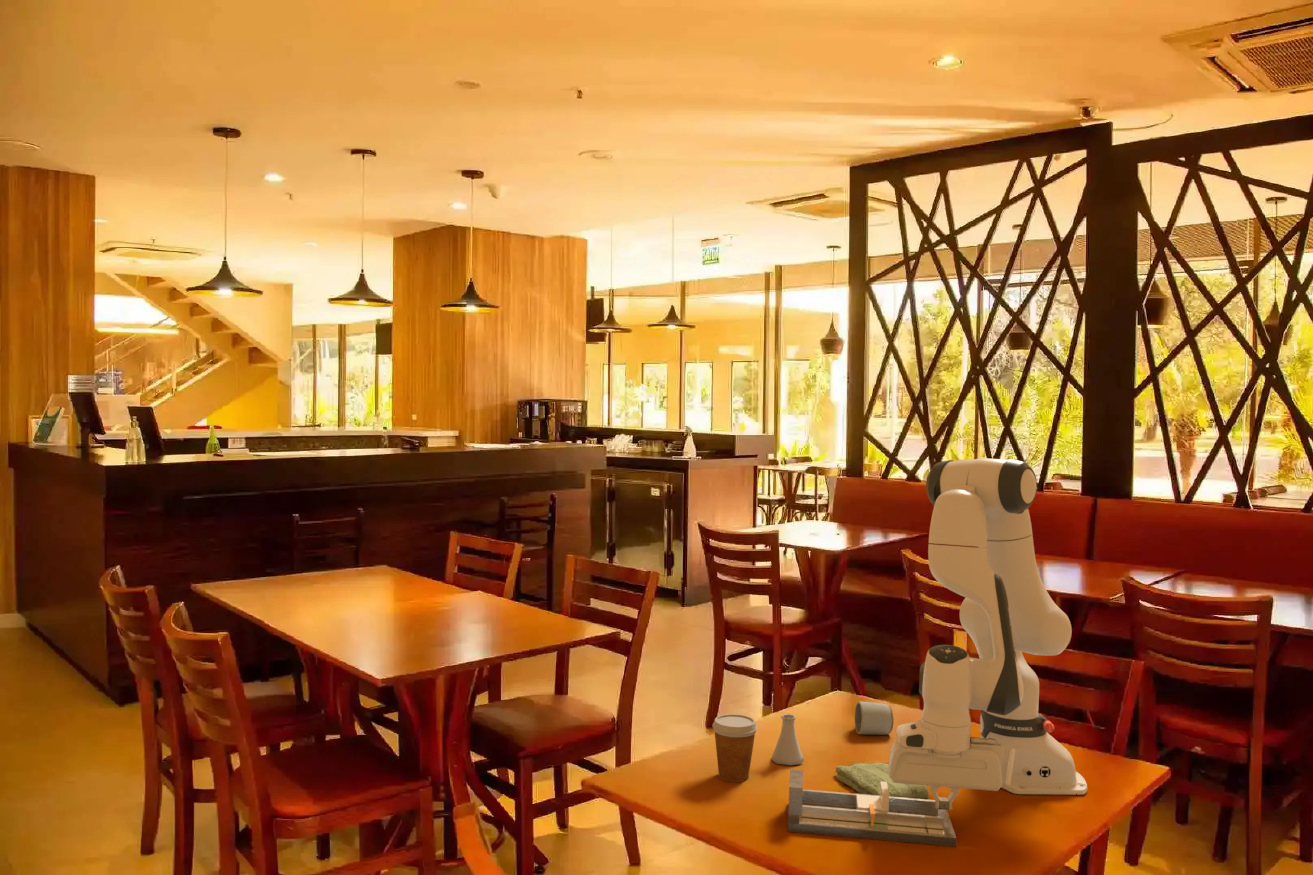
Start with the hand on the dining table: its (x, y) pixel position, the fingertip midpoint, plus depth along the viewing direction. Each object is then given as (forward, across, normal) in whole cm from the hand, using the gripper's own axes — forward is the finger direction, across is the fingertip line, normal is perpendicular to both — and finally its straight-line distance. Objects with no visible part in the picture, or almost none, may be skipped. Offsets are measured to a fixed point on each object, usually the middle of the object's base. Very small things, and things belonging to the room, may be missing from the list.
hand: (943, 808), depth 179 cm
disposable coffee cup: (+4, +40, -18) cm, 45 cm away
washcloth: (+5, +10, -19) cm, 22 cm away
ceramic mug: (+4, +10, -54) cm, 55 cm away
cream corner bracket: (+2, +13, +2) cm, 13 cm away
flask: (+4, +30, -30) cm, 42 cm away
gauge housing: (+4, +14, 0) cm, 14 cm away
